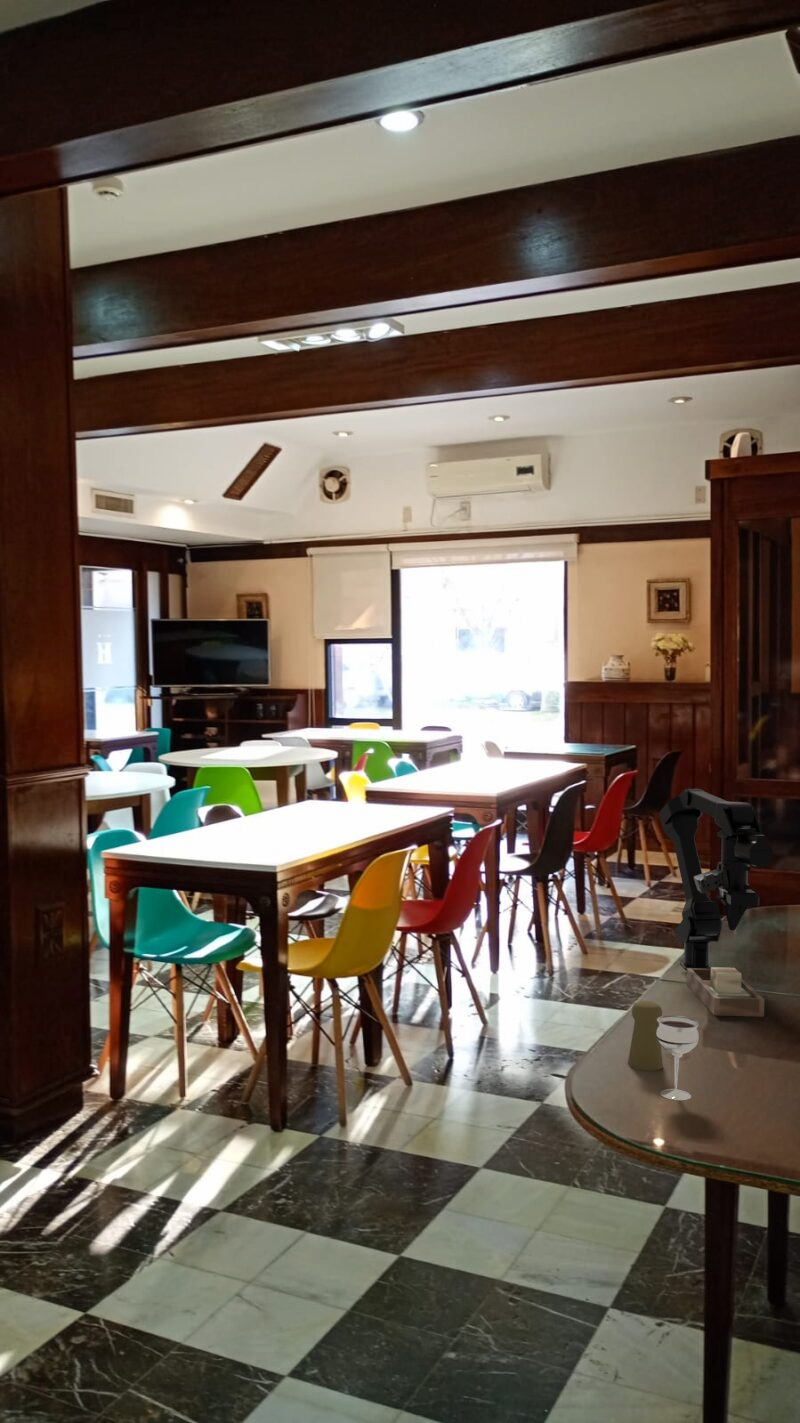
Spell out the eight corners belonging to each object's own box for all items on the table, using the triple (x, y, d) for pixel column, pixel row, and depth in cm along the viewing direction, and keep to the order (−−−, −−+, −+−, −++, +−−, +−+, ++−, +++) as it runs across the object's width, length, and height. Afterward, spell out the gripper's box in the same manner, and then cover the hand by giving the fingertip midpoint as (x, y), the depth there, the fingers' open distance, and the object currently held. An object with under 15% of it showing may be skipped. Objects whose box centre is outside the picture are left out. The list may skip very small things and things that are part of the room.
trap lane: (686, 983, 255) (686, 968, 255) (731, 984, 255) (732, 969, 255) (714, 1015, 232) (714, 998, 232) (763, 1016, 232) (764, 999, 232)
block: (710, 986, 245) (710, 967, 244) (733, 986, 245) (734, 967, 244) (716, 992, 240) (717, 973, 239) (740, 993, 240) (741, 974, 239)
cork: (660, 1059, 205) (662, 998, 204) (665, 1071, 199) (667, 1008, 198) (626, 1057, 205) (627, 996, 205) (629, 1069, 199) (631, 1006, 199)
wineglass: (695, 1104, 184) (697, 1030, 183) (651, 1098, 186) (654, 1025, 186) (698, 1090, 190) (701, 1018, 190) (656, 1084, 192) (658, 1013, 192)
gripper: (687, 852, 264) (685, 919, 265) (709, 866, 246) (706, 939, 246) (736, 853, 264) (734, 921, 265) (761, 867, 246) (759, 940, 246)
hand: (732, 929), depth 256 cm, fingers closed
